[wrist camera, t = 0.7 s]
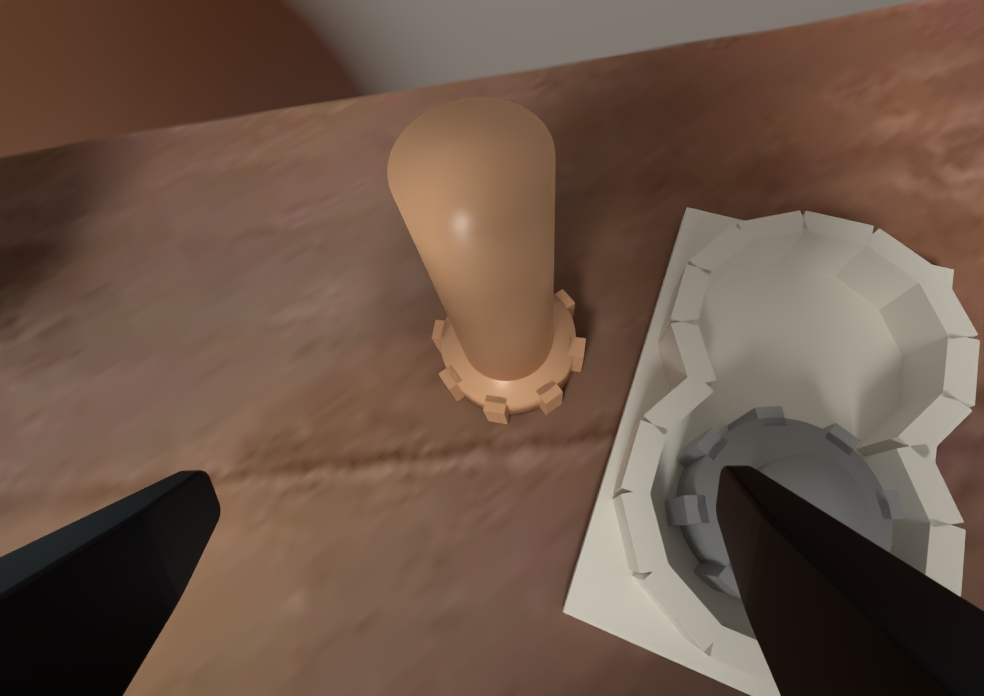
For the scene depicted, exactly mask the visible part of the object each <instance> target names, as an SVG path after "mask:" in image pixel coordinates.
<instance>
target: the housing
mask: <svg viewBox="0 0 984 696" xmlns="http://www.w3.org/2000/svg"><path fill="white" fill-rule="evenodd" d="M873 227H874V226H873V225H868V224H864V223H859V222H855V221H850V220H846V219H842V218H837V217H833V216H828V215H824V214H819V213H815V212H810V211H805V212H804V213H803V215H802V214H801V212H800V210H799V211H794V212H789V213H783V214H778V215H773V216H767V217H762V218H757V219H751V220H746V221H744V220H740V219H735V218H731V217H727V216H723V215H718V214H714V213H710V212H706V211H701V210H697V209H693V208H689V207H687V208H686V210H685V213H684V215H683V218H682V221H681V224H680V227H679V230H678V234H677V237H676V240H675V243H674V247H673V250H672V253H671V256H670V260H669V263H668V266H667V269H666V273H665V276H664V279H663V282H662V286H661V289H660V292H659V295H658V299H657V302H656V305H655V308H654V312H653V315H652V318H651V321H650V325H649V328H648V331H647V334H646V338H645V341H644V344H643V347H642V351H641V354H640V357H639V360H638V364H637V367H636V370H635V373H634V377H633V380H632V383H631V387H630V390H629V393H628V396H627V400H626V403H625V406H624V409H623V413H622V416H621V419H620V422H619V426H618V429H617V432H616V435H615V439H614V442H613V445H612V448H611V452H610V455H609V458H608V461H607V465H606V468H605V471H604V474H603V478H602V481H601V484H600V487H599V491H598V494H597V497H596V500H595V504H594V507H593V510H592V513H591V517H590V520H589V523H588V526H587V530H586V533H585V536H584V539H583V543H582V546H581V549H580V552H579V556H578V559H577V562H576V566H575V569H574V572H573V575H572V579H571V582H570V585H569V588H568V592H567V595H566V598H565V601H564V605H563V608H562V610H563V612H564V613H566V614H568V615H571V616H573V617H575V618H577V619H580V620H582V621H584V622H586V623H589V624H591V625H593V626H595V627H598V628H600V629H602V630H604V631H607V632H609V633H611V634H613V635H616V636H618V637H620V638H622V639H625V640H627V641H629V642H631V643H634V644H636V645H638V646H640V647H643V648H645V649H647V650H649V651H652V652H654V653H656V654H659V655H661V656H663V657H665V658H668V659H670V660H672V661H674V662H677V663H679V664H681V665H683V666H686V667H688V668H690V669H692V670H695V671H697V672H699V673H701V674H704V675H706V676H708V677H710V678H713V679H715V680H717V681H719V682H722V683H724V684H726V685H728V686H731V687H733V688H735V689H737V690H740V691H742V692H744V693H746V694H749V695H751V696H781V695H780V693H779V691H778V688H777V686H776V684H775V681H774V679H773V677H772V674H771V672H770V669H769V667H768V665H767V662H766V660H765V658H764V655H763V653H762V651H761V648H760V646H759V643H758V641H757V639H756V636H755V634H754V632H753V629H752V627H751V625H750V622H749V619H748V617H747V614H746V612H745V609H744V606H743V603H742V600H741V597H740V594H739V590H738V587H737V584H736V580H735V577H734V574H733V570H732V567H731V564H730V560H729V557H728V554H727V551H726V547H725V544H724V541H723V537H722V534H721V531H720V527H719V524H718V520H717V516H716V500H717V492H718V485H719V477H720V472H721V469H722V468H723V467H724V466H725V465H750V466H752V467H754V468H755V469H757V470H759V471H760V472H762V473H763V474H765V475H767V476H768V477H770V478H771V479H773V480H775V481H776V482H778V483H779V484H781V485H783V486H784V487H786V488H787V489H789V490H791V491H792V492H794V493H795V494H797V495H799V496H800V497H802V498H803V499H805V500H807V501H808V502H810V503H811V504H813V505H815V506H816V507H818V508H819V509H821V510H823V511H824V512H826V513H827V514H829V515H831V516H832V517H834V518H835V519H837V520H839V521H840V522H842V523H843V524H845V525H847V526H848V527H850V528H851V529H853V530H855V531H856V532H858V533H859V534H861V535H863V536H864V537H866V538H867V539H869V540H871V541H872V542H874V543H875V544H877V545H879V546H880V547H882V548H883V549H885V550H887V551H888V552H890V553H891V554H893V555H895V556H896V557H898V558H899V559H901V560H903V561H904V562H906V563H907V564H909V565H911V566H912V567H914V568H915V569H917V570H919V571H920V572H922V573H923V574H925V575H927V576H928V577H930V578H931V579H933V580H935V581H936V582H938V583H939V584H941V585H942V586H944V587H946V588H947V589H949V590H950V591H952V592H954V593H955V594H957V595H958V596H960V597H961V588H962V574H963V561H964V547H965V533H966V530H964V529H962V528H959V527H956V526H953V525H951V524H957V523H963V522H964V521H963V519H962V517H961V515H960V513H959V511H958V509H957V507H956V505H955V502H954V500H953V498H952V496H951V494H950V492H949V490H948V488H947V486H946V484H945V482H944V480H943V478H942V476H941V474H940V472H939V469H938V467H937V465H936V463H935V461H936V450H937V446H938V445H939V444H940V443H941V442H942V441H943V440H944V439H945V438H946V437H947V436H948V435H949V434H950V433H951V432H952V431H953V430H954V429H955V428H956V427H957V426H958V425H959V424H960V423H961V422H962V421H963V420H964V419H965V418H966V417H967V416H968V415H969V414H970V413H971V412H972V410H971V409H970V408H969V407H972V406H975V397H976V383H977V370H978V356H979V342H980V341H979V340H976V339H972V337H974V336H977V335H978V334H977V332H976V330H975V328H974V327H973V325H972V323H971V321H970V320H969V318H968V316H967V314H966V313H965V311H964V309H963V307H962V306H961V304H960V302H959V300H958V299H957V297H956V295H955V293H954V292H953V290H952V284H953V273H954V270H953V269H948V268H944V267H940V266H936V265H932V264H930V263H929V262H928V261H926V260H925V259H923V258H922V257H920V256H919V255H917V254H916V253H915V252H913V251H912V250H910V249H909V248H907V247H906V246H904V245H903V244H902V243H900V242H899V241H897V240H896V239H894V238H893V237H891V236H890V235H889V234H887V233H886V232H884V231H883V230H881V229H880V228H879V229H878V230H877V231H876V232H875V233H874V234H872V233H873Z"/></svg>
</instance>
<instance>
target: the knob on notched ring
mask: <svg viewBox="0 0 984 696" xmlns="http://www.w3.org/2000/svg"><path fill="white" fill-rule="evenodd" d="M555 171H556V154H555V146H554V142H553V139H552V136H551V134H550V132H549V130H548V129H547V127H546V126H545V124H544V123H543V122H542V121H541V120H540V119H539V117H537V116H536V115H535V114H534V113H533V112H531V111H530V110H528V109H527V108H525V107H523V106H521V105H519V104H517V103H514V102H511V101H508V100H505V99H500V98H495V97H467V98H461V99H456V100H452V101H449V102H446V103H443V104H441V105H438V106H436V107H434V108H432V109H430V110H428V111H426V112H425V113H423V114H422V115H420V116H419V117H418V118H416V119H415V120H414V121H413V122H412V123H410V124H409V125H408V127H407V128H406V129H405V130H404V131H403V132H402V133H401V135H400V136H399V137H398V139H397V141H396V142H395V144H394V146H393V148H392V151H391V153H390V157H389V161H388V168H387V176H388V183H389V187H390V190H391V193H392V195H393V197H394V199H395V202H396V204H397V206H398V208H399V210H400V212H401V215H402V217H403V219H404V221H405V223H406V226H407V228H408V230H409V232H410V234H411V237H412V239H413V241H414V243H415V245H416V248H417V250H418V252H419V254H420V256H421V259H422V261H423V263H424V265H425V267H426V270H427V272H428V274H429V276H430V278H431V280H432V283H433V285H434V287H435V289H436V291H437V294H438V296H439V298H440V300H441V302H442V305H443V307H444V309H445V311H446V313H447V318H446V320H445V321H444V320H436V321H435V325H434V329H433V334H432V339H433V341H434V343H435V344H436V346H437V348H438V349H439V351H440V353H442V357H443V361H444V364H445V366H446V369H444V370H443V371H442V372H440V373H439V376H440V377H441V379H442V380H443V382H444V383H445V385H446V386H447V388H448V389H449V391H450V392H451V394H452V395H453V397H454V398H455V399H456V401H457V402H458V401H459V400H461V399H462V398H463V397H466V398H467V399H468V400H469V401H470V402H472V403H473V404H475V405H476V406H478V407H480V408H482V409H483V411H484V413H485V415H486V417H487V419H488V421H490V422H496V423H502V424H508V421H509V415H518V414H524V413H528V412H531V411H534V410H536V409H539V408H541V410H542V411H543V412H544V414H545V415H547V414H549V413H550V412H551V411H553V410H554V409H555V408H557V407H558V406H560V405H561V404H562V395H563V391H562V389H563V387H564V386H565V385H566V383H567V381H568V379H569V377H570V374H571V371H575V372H581V369H582V364H583V359H584V351H585V343H586V338H579V337H576V332H575V326H574V322H573V317H574V308H575V302H574V301H573V300H572V299H571V298H570V297H569V296H568V294H567V293H566V292H565V291H564V290H563V289H562V290H560V291H559V292H557V293H556V294H554V236H555Z"/></svg>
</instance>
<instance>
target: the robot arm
mask: <svg viewBox="0 0 984 696" xmlns="http://www.w3.org/2000/svg"><path fill="white" fill-rule="evenodd" d="M716 516H717V520H718V524H719V527H720V531H721V534H722V537H723V541H724V544H725V547H726V551H727V554H728V557H729V560H730V564H731V567H732V570H733V574H734V577H735V580H736V584H737V587H738V590H739V594H740V597H741V600H742V603H743V606H744V609H745V612H746V614H747V617H748V619H749V622H750V625H751V627H752V629H753V632H754V634H755V636H756V639H757V641H758V643H759V646H760V648H761V651H762V653H763V655H764V658H765V660H766V662H767V665H768V667H769V669H770V672H771V674H772V677H773V679H774V681H775V684H776V686H777V688H778V691H779V693H780V695H781V696H984V611H982V610H981V609H979V608H978V607H976V606H974V605H973V604H971V603H970V602H968V601H966V600H965V599H963V598H962V597H960V596H958V595H957V594H955V593H954V592H952V591H950V590H949V589H947V588H946V587H944V586H942V585H941V584H939V583H938V582H936V581H935V580H933V579H931V578H930V577H928V576H927V575H925V574H923V573H922V572H920V571H919V570H917V569H915V568H914V567H912V566H911V565H909V564H907V563H906V562H904V561H903V560H901V559H899V558H898V557H896V556H895V555H893V554H891V553H890V552H888V551H887V550H885V549H883V548H882V547H880V546H879V545H877V544H875V543H874V542H872V541H871V540H869V539H867V538H866V537H864V536H863V535H861V534H859V533H858V532H856V531H855V530H853V529H851V528H850V527H848V526H847V525H845V524H843V523H842V522H840V521H839V520H837V519H835V518H834V517H832V516H831V515H829V514H827V513H826V512H824V511H823V510H821V509H819V508H818V507H816V506H815V505H813V504H811V503H810V502H808V501H807V500H805V499H803V498H802V497H800V496H799V495H797V494H795V493H794V492H792V491H791V490H789V489H787V488H786V487H784V486H783V485H781V484H779V483H778V482H776V481H775V480H773V479H771V478H770V477H768V476H767V475H765V474H763V473H762V472H760V471H759V470H757V469H755V468H754V467H752V466H750V465H725V466H724V467H723V468H722V469H721V472H720V477H719V485H718V492H717V500H716ZM219 517H220V504H219V501H218V498H217V496H216V493H215V490H214V487H213V485H212V482H211V479H210V477H209V475H208V474H207V473H206V472H204V471H201V470H191V471H180V472H177V473H175V474H173V475H171V476H169V477H167V478H165V479H163V480H161V481H159V482H157V483H155V484H152V485H150V486H148V487H146V488H144V489H142V490H140V491H138V492H136V493H134V494H132V495H129V496H127V497H125V498H123V499H121V500H119V501H117V502H115V503H113V504H111V505H109V506H107V507H104V508H102V509H100V510H98V511H96V512H94V513H92V514H90V515H88V516H86V517H84V518H81V519H79V520H77V521H75V522H73V523H71V524H69V525H67V526H65V527H63V528H61V529H59V530H56V531H54V532H52V533H50V534H48V535H46V536H44V537H42V538H40V539H38V540H36V541H33V542H31V543H29V544H27V545H25V546H23V547H21V548H19V549H17V550H15V551H13V552H11V553H8V554H6V555H4V556H2V557H0V696H123V694H124V693H125V691H126V689H127V688H128V686H129V684H130V683H131V681H132V679H133V678H134V676H135V674H136V673H137V671H138V669H139V668H140V666H141V664H142V663H143V661H144V659H145V658H146V656H147V654H148V653H149V651H150V649H151V648H152V646H153V644H154V643H155V641H156V639H157V638H158V636H159V634H160V632H161V631H162V629H163V627H164V626H165V624H166V622H167V621H168V619H169V617H170V616H171V614H172V612H173V611H174V609H175V607H176V605H177V604H178V602H179V600H180V598H181V596H182V594H183V592H184V590H185V588H186V586H187V584H188V582H189V580H190V578H191V576H192V574H193V572H194V570H195V568H196V566H197V564H198V562H199V560H200V558H201V555H202V553H203V551H204V549H205V547H206V545H207V543H208V541H209V539H210V537H211V535H212V533H213V531H214V529H215V526H216V524H217V522H218V520H219Z"/></svg>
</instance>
